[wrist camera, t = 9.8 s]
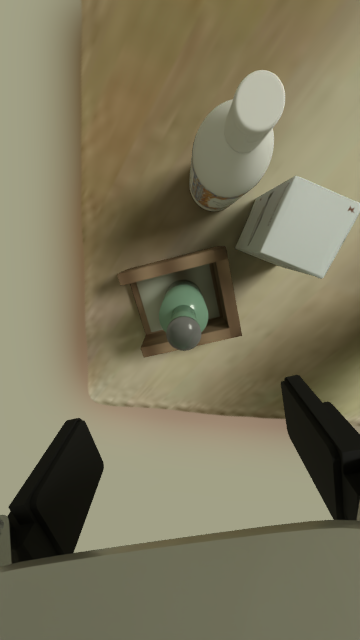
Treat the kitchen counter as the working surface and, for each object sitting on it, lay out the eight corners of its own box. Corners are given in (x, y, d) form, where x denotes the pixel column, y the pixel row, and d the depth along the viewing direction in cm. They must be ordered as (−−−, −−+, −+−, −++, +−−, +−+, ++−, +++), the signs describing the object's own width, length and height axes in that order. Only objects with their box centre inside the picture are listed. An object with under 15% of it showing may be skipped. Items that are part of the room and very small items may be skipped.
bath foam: (192, 215, 34) (204, 179, 15) (186, 158, 32) (191, 31, 13) (241, 208, 33) (320, 162, 14) (238, 150, 31) (326, 6, 12)
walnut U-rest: (218, 245, 35) (225, 246, 29) (233, 321, 38) (241, 335, 33) (127, 269, 36) (116, 274, 30) (149, 340, 40) (143, 357, 34)
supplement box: (255, 196, 33) (297, 170, 21) (302, 217, 34) (369, 203, 22) (232, 248, 35) (258, 252, 23) (277, 267, 36) (325, 280, 24)
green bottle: (197, 275, 35) (207, 298, 21) (205, 311, 37) (219, 355, 22) (160, 284, 36) (145, 312, 21) (170, 319, 37) (162, 367, 23)
